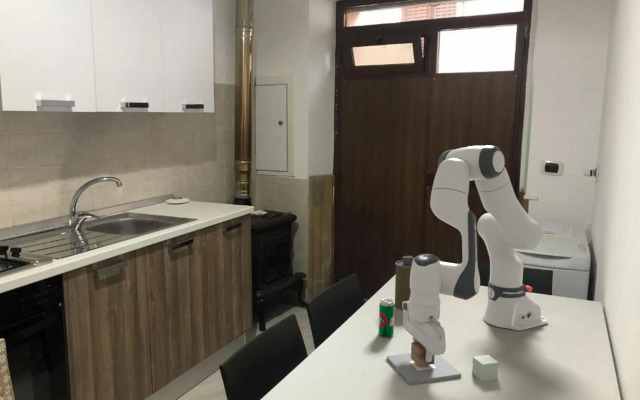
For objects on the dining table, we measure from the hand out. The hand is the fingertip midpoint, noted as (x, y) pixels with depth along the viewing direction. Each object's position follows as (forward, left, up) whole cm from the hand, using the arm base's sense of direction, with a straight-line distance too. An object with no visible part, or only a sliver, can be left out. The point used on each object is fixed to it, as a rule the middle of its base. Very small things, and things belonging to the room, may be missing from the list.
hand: (422, 356), depth 152 cm
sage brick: (-15, +9, -4) cm, 18 cm away
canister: (-18, -48, -4) cm, 51 cm away
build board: (0, 0, -4) cm, 4 cm away
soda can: (+1, -25, -4) cm, 25 cm away
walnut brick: (0, 0, -2) cm, 2 cm away
